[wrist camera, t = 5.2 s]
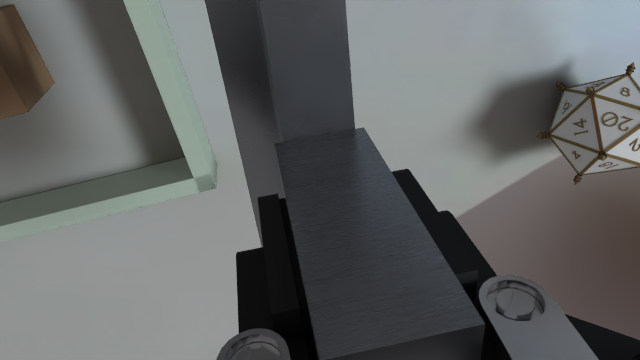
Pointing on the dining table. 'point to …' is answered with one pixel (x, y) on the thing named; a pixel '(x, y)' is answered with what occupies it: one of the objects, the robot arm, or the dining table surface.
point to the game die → (598, 125)
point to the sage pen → (140, 183)
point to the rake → (335, 188)
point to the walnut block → (19, 66)
